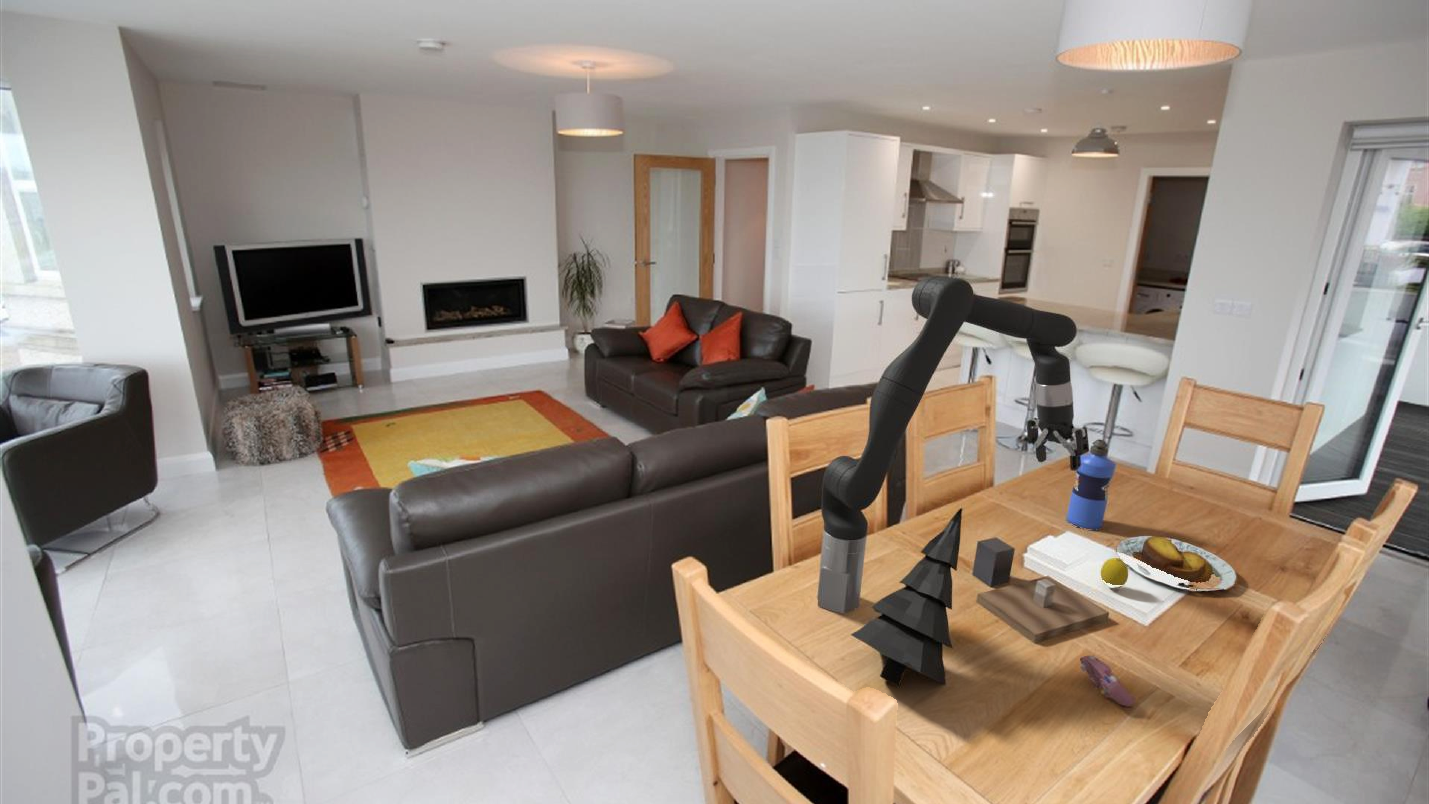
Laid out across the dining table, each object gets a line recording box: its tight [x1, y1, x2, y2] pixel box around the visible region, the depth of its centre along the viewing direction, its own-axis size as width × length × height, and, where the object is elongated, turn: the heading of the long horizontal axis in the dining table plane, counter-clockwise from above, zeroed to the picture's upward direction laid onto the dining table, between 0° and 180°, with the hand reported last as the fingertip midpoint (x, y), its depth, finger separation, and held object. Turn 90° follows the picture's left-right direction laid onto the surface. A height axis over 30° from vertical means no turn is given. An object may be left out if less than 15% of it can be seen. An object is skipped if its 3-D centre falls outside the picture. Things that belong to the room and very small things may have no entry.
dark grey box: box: [972, 537, 1016, 588], centre depth 163 cm, size 6×6×9 cm
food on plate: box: [1115, 535, 1239, 592], centre depth 171 cm, size 25×25×7 cm
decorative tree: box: [850, 507, 963, 687], centre depth 129 cm, size 15×15×35 cm
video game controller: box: [1079, 654, 1135, 707], centre depth 126 cm, size 10×5×7 cm, turn 5°
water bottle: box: [1065, 439, 1117, 531], centre depth 192 cm, size 9×9×25 cm
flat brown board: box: [975, 575, 1110, 644], centre depth 151 cm, size 22×16×7 cm
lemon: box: [1100, 557, 1129, 586], centre depth 161 cm, size 6×6×8 cm
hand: (1058, 465), depth 161 cm, fingers open, 8 cm apart
